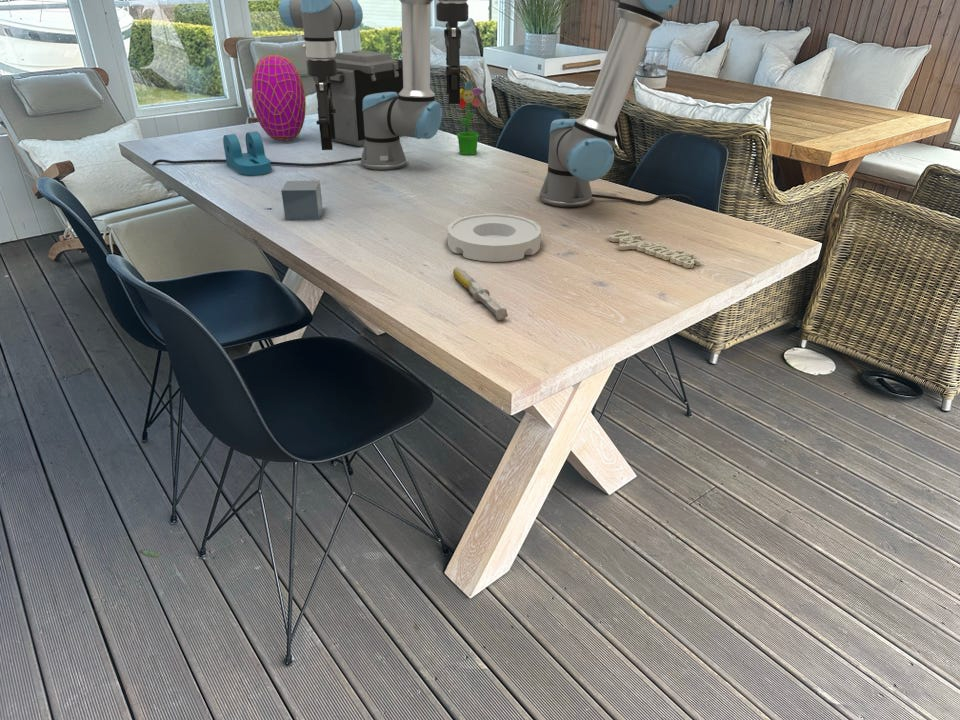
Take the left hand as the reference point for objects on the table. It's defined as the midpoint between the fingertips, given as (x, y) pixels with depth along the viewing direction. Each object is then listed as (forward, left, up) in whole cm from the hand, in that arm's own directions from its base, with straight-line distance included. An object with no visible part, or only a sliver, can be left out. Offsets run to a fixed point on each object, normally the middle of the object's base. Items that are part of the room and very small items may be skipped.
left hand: (328, 144), depth 186 cm
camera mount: (-44, +31, -18) cm, 56 cm away
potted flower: (+21, +71, -18) cm, 77 cm away
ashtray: (+50, -16, -18) cm, 55 cm away
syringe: (+53, -47, -18) cm, 73 cm away
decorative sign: (+88, -11, -18) cm, 90 cm away
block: (-6, -7, -18) cm, 20 cm away
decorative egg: (-52, +71, -18) cm, 90 cm away
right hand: (+36, -2, +14) cm, 38 cm away
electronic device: (-24, +87, -18) cm, 92 cm away
